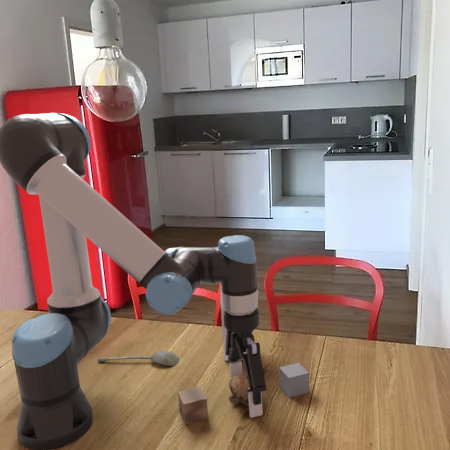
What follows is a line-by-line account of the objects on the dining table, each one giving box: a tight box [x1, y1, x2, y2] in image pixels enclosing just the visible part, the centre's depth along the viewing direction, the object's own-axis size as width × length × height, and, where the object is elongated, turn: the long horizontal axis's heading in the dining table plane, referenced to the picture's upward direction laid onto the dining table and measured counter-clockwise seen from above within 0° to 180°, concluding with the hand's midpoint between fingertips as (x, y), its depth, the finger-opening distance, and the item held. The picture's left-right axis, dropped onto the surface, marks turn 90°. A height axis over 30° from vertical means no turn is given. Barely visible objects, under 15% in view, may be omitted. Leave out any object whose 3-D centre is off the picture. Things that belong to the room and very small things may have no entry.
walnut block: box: [177, 386, 209, 426], centre depth 104 cm, size 5×5×5 cm
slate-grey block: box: [278, 362, 310, 398], centre depth 111 cm, size 5×5×5 cm
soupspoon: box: [97, 350, 180, 367], centre depth 129 cm, size 22×3×7 cm
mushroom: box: [228, 374, 250, 407], centre depth 108 cm, size 8×8×6 cm
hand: (246, 401), depth 108 cm, fingers open, 11 cm apart
